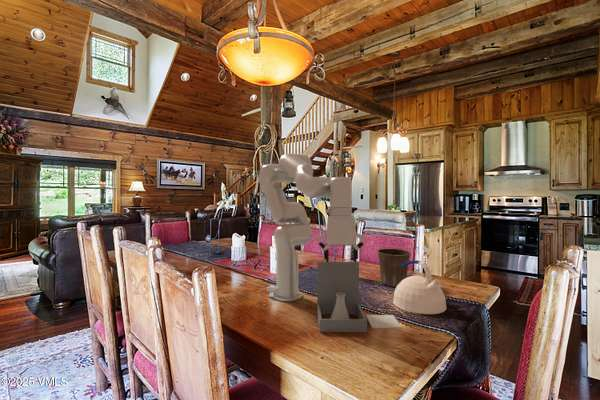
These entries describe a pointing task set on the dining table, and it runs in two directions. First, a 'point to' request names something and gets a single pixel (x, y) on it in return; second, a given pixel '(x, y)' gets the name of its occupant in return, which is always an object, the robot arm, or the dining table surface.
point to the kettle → (420, 293)
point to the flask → (340, 308)
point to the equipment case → (328, 284)
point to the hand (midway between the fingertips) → (340, 261)
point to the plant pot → (393, 265)
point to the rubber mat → (383, 321)
